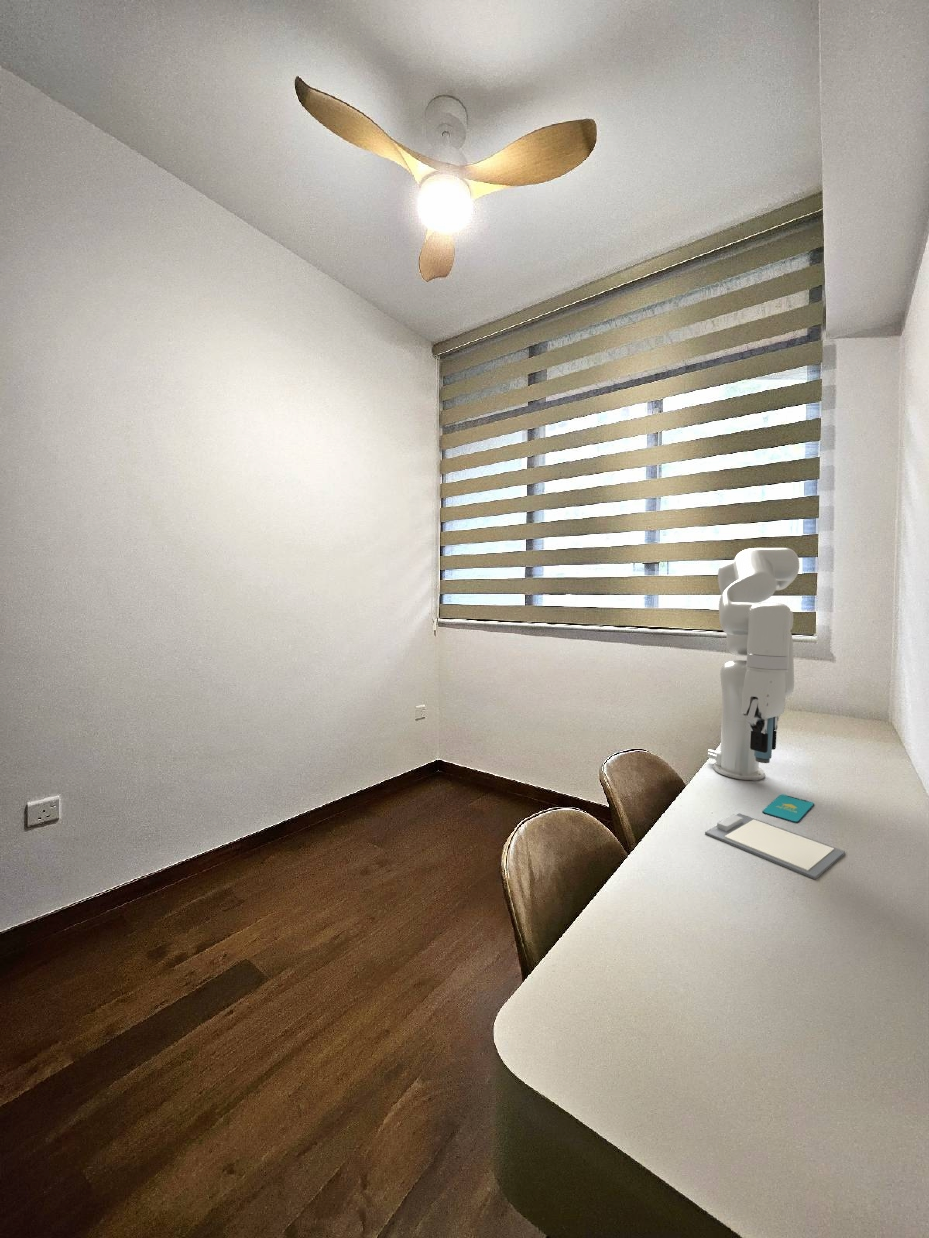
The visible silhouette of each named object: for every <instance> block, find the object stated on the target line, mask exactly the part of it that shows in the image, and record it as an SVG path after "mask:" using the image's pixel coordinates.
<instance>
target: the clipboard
mask: <svg viewBox="0 0 929 1238" xmlns="http://www.w3.org/2000/svg"><path fill="white" fill-rule="evenodd" d="M704 834H705V835H707V836H709V837H712V838H714V839H716V840H717V841H718V840H719V841H721V842H723V843H726V844H728V845H730V846H733V847H734V848H735V847H736V848H738V849H740V850H742V851H745V852H747V853H749V854H752V855H755V856H758V857H759V858H762V859H764V860H767V861H769V862H771V863H774V864H775V865H776V864H777V865H779V866H782V867H784V868H786V869H788V870H790V871H794V872H796V873H798V874H799V875H800V874H801V875H803V876H805V877H808V878H810V879H813V880H816V879H818V878H819V877H820V876H821V875H822V874H823V873H825V872H826V871H827V870H828V869H829V868H831V867H832V866H833V865H834V864H835V863H836V862H837V861H839V860H840V859H841V858H842V857H843V856H844V855H845V854H846V851H845V850H844V849H840V848H837V847H834V846H832V845H829V844H826V843H823V842H820V841H818V840H815V839H813V838H809V837H808V836H804V835H801V834H798V833H796V832H794V831H791V830H787V829H784V828H782V827H779V826H776V825H774V824H771V823H767V822H765V821H762V820H759V819H757V818H754V817H751V816H749V815H745V814H743V813H740V812H739V813H737V814H731V815H730V816H727V817H725V818H724V819H721V820H719V822H717V825H715V826H712V827H711V828H709V829H708V830H706V831H705V832H704Z"/></svg>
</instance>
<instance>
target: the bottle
mask: <svg viewBox="0 0 929 1238" xmlns="http://www.w3.org/2000/svg"><path fill="white" fill-rule="evenodd" d="M757 717H761V715H759V714H758V715H757ZM758 721H759V720H758ZM759 722H761V724H762V721H759ZM766 733H767V734H768V751H767V752H766V753H763V752H759V751H755V750H754V756H755V761H757V762H759V764H760V763H761V764H770V762H771V761H770V760H771V759H772V755H773V754H772V751H773V750H772V736H773V717H772V718H769V719H768V721H767V731H766Z"/></svg>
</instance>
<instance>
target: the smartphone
mask: <svg viewBox="0 0 929 1238" xmlns="http://www.w3.org/2000/svg"><path fill="white" fill-rule="evenodd" d="M814 806H815V803H814V802H813V801H808V800H805V799H802V798H799V797H794V796H791V795H788V794H779V795H778V796H777V797H776V798H775V799H774V800H773V801H772V802H770V803H769V804H768V805H767V806H766V807H765V808H763V809H762V811H761V812H762V813H761V814H764V815H767V816H770V817H773V818H776V819H777V818H778V819H781V820H784V821H787V822H790V823H793V824H799V823H800V822H801V820H803V818H804V817H805V816H806V815H807V814H808V812H810V811H811V810H812V808H813V807H814Z"/></svg>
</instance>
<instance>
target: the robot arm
mask: <svg viewBox="0 0 929 1238" xmlns="http://www.w3.org/2000/svg"><path fill="white" fill-rule="evenodd" d="M799 571H800V559H799V556H798V554H797V552H795V551H794V550H793V549H792V548H789V547H754V548H753V547H752V548H747V549H744V550H742V551H740V552H738V553H737V554H736V556H735V557H734V560H729V561H725V562H723V563H722V564H721V565H720V566H719V568H718V572H717V581H718V587H719V591H720V598H719V603H718V616H719V618H718V619H719V624H720V628H721V630H722V632H724V633H726V648H727V651H728V652H729V653H730V654H731V655H734V656H737V657H745V658H746V660H744V659H743V660H742V659H737V660H736V659H735V660H734V659H733V660H729V661H727V662H725V663H724V664H722V665H721V668H720V674H719V675H720V677H719V678H720V685H721V693H722V695H721V696H722V697H721V698H722V704H721V707H722V708H721V709H722V710H721V729H720V732H721V733H720V751H716V750H713V749H711V748H710V749H708V750H707V752H706V754H707V758H709V759H712V760H715V762H714V763H713V770H714V771H716V773H718V774H721V775H723V776H725V777H728V778H731V779H736V780H743V781H758V780H760V781H761V780H763V779H764V778H765V776H766V775H765V774H766V772H765V771H764V769H762V768H760V767H759V764H760V762H757V761H755V756H754V750H755V751H759V752H763V753H766V752H767V751H768V734H767V733H766V731H767V721H768V719H769V718H772V717H773V736H772V751H773V750H776V749H777V733H778V732H777V731H778V724H779V723H778V722H779V718H780V716H781V715H783V714H784V712H785V708H786V698H788V697H790V696H791V695H792V694H793V692H794V687H795V668H794V667H795V666H794V659H795V658H794V642H793V635H792V632H791V630H792V629H793V626H794V613H793V611H792V610H791V609H790V607H789V606H788V605H786V604H783V603H777V602H764V601H766V600H768V599H769V598H771V597H772V596H773V595H774V593H775V592H776V591H782V590H785V589H787V587H788V586H790V585H791V584H792V583H793V582H794V581H795V579H796V578H797V576H798V574H799ZM758 714H759V715H761V717H757V715H758ZM758 720H759V721H762V724H761V722H759V721H758Z"/></svg>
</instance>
